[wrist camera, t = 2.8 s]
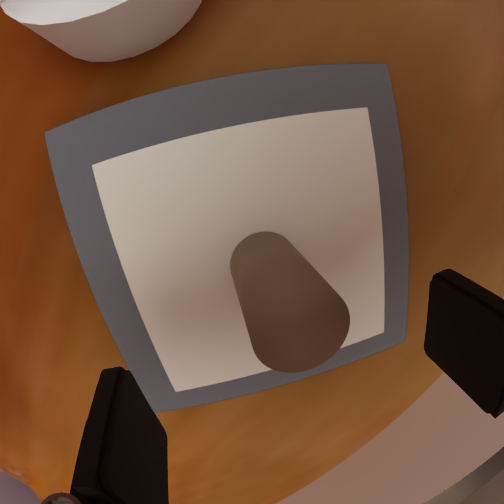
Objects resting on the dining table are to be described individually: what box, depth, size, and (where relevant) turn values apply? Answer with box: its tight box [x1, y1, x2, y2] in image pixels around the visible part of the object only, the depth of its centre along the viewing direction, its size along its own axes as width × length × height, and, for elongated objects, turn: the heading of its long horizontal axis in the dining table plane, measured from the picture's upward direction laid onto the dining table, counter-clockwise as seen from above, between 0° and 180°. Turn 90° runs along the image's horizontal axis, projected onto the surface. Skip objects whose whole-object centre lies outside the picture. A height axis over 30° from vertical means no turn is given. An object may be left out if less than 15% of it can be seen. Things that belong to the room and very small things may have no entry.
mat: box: [45, 63, 409, 413], centre depth 16 cm, size 18×18×1 cm
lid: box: [92, 107, 385, 392], centre depth 13 cm, size 13×13×7 cm
